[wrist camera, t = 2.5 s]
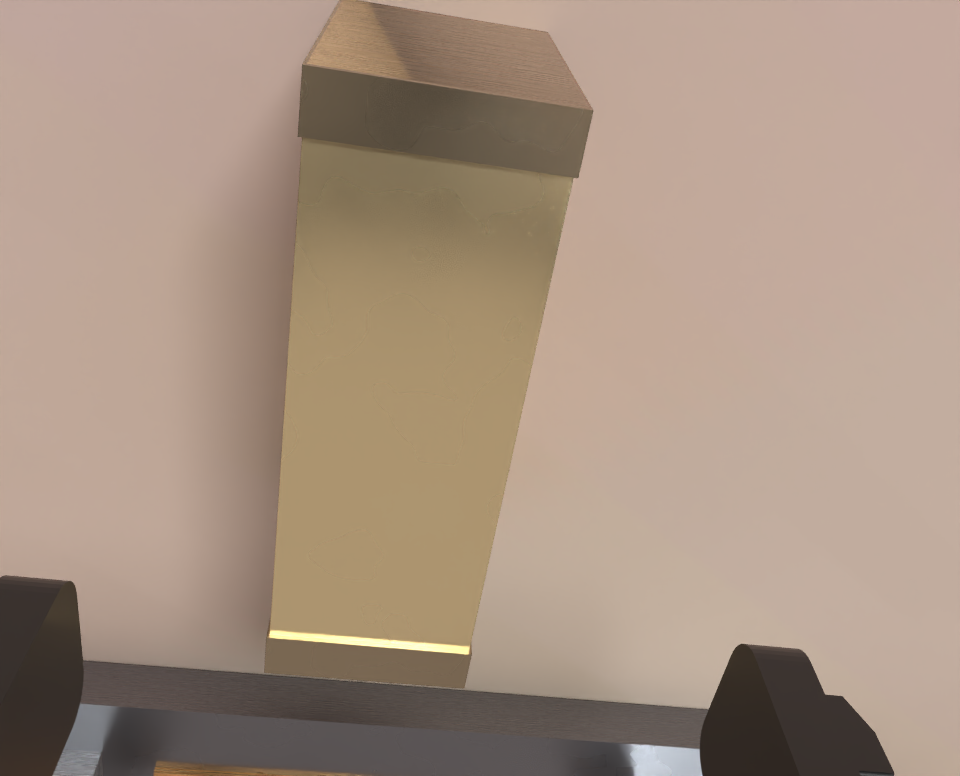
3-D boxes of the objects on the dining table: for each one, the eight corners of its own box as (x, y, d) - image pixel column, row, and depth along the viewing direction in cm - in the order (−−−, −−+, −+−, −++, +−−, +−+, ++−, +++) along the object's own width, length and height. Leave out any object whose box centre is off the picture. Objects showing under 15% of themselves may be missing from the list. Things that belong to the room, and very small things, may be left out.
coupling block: (457, 505, 24) (464, 688, 19) (301, 489, 24) (264, 672, 19) (547, 32, 18) (593, 110, 13) (340, -2, 18) (302, 64, 13)
